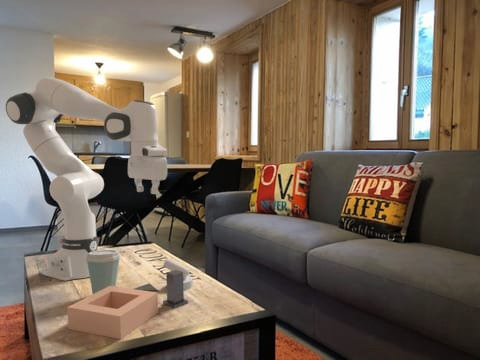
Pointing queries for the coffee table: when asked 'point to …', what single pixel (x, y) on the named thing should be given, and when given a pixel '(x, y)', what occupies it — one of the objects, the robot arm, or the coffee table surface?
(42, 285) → the coffee table surface
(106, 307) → the box
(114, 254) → the disposable coffee cup
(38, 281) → the coffee table surface
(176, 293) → the grey pillar on base
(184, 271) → the wall hook
